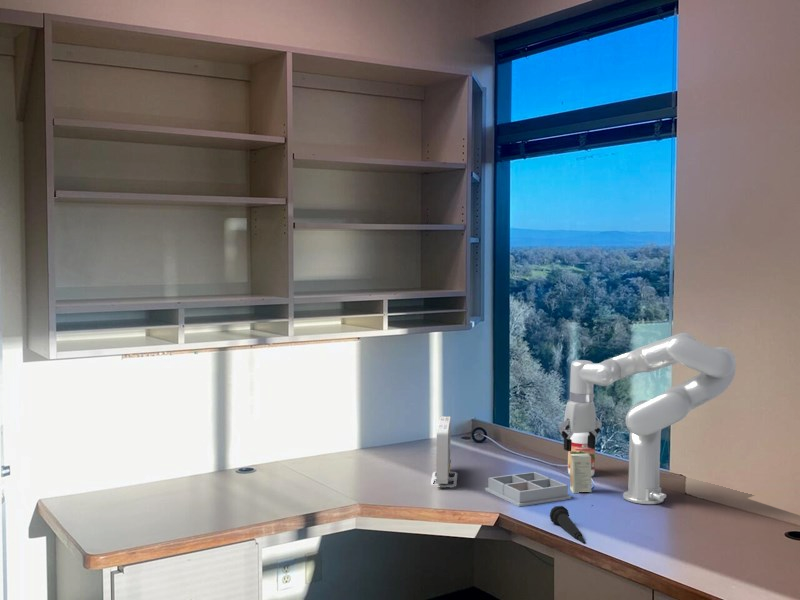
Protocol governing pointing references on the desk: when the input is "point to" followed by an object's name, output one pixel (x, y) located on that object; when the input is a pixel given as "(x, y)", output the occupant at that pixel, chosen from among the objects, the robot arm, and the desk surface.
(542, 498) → the gray compartment tray
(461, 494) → the desk surface
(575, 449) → the fruit juice
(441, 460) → the network device
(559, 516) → the microphone
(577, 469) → the skincare box
